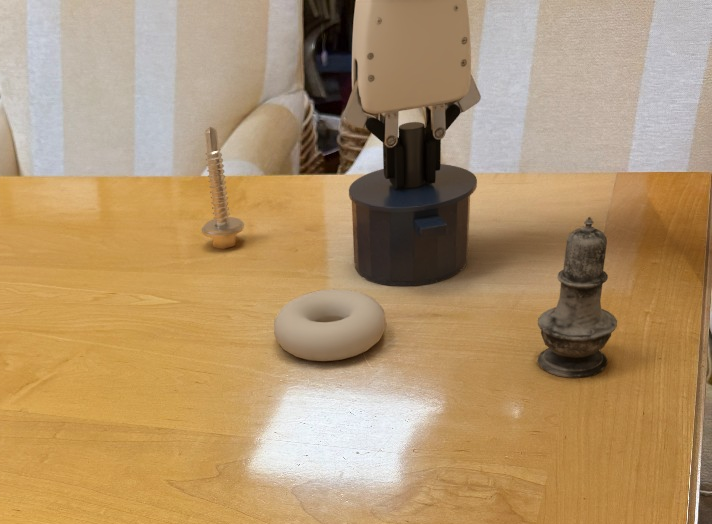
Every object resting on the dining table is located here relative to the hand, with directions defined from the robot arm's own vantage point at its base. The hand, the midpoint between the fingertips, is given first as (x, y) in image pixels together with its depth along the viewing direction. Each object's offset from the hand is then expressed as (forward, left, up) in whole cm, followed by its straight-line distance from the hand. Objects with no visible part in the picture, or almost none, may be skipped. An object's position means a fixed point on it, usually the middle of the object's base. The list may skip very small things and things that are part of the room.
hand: (411, 180), depth 88 cm
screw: (+18, -13, -9) cm, 24 cm away
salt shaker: (-7, +24, -9) cm, 26 cm away
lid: (0, 0, -1) cm, 1 cm away
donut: (+11, +14, -9) cm, 20 cm away
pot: (0, 0, -8) cm, 8 cm away
